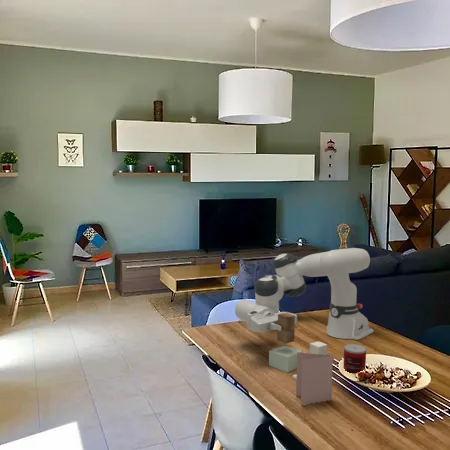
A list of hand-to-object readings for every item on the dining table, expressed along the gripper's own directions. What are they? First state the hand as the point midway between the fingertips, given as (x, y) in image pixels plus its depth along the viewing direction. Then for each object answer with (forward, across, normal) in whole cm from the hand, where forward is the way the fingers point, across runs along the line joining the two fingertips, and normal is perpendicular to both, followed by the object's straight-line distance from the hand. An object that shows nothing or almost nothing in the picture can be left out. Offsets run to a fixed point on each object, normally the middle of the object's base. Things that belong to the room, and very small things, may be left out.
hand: (287, 327), depth 189 cm
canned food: (+21, -13, -16) cm, 29 cm away
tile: (+13, +1, -15) cm, 20 cm away
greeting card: (+26, +13, -16) cm, 33 cm away
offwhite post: (+9, -7, -15) cm, 19 cm away
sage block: (-1, 0, -16) cm, 16 cm away
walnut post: (-1, 0, -6) cm, 6 cm away
